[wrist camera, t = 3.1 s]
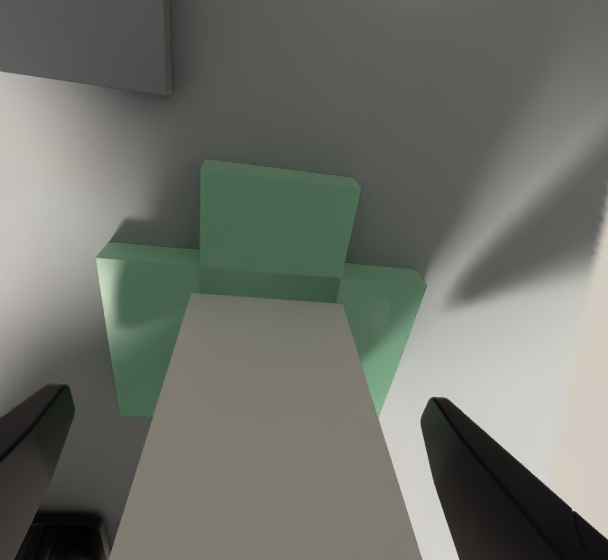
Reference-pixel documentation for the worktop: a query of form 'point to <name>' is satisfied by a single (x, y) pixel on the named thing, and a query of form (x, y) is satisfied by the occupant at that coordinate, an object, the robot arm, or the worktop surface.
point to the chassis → (90, 42)
